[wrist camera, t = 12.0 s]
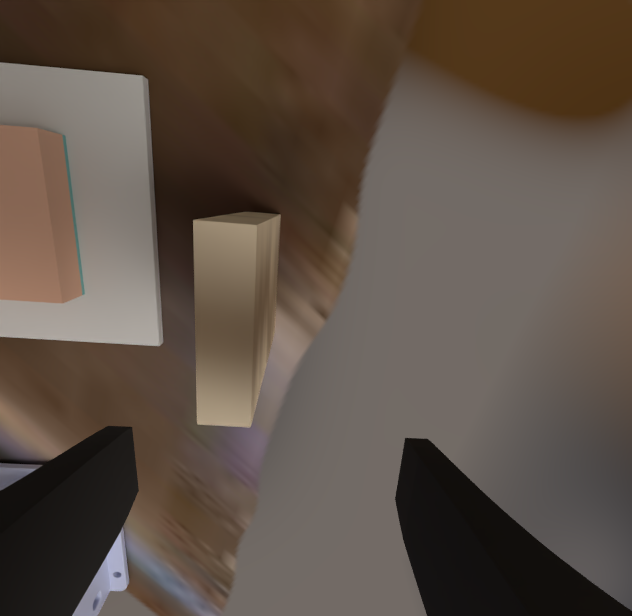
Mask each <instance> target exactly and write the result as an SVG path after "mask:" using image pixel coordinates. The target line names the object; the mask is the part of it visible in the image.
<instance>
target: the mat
mask: <svg viewBox="0 0 632 616" xmlns="http://www.w3.org/2000/svg"><path fill="white" fill-rule="evenodd" d="M0 125H9V126H21V127H33V128H39V129H43V130H47V131H50V132H54V133H58V134H61V135H65V136H66V144H67V152H68V160H69V169H70V177H71V185H72V193H73V201H74V209H75V217H76V225H77V233H78V241H79V249H80V258H81V266H82V274H83V282H84V290H85V295H82V296H80V297H77V298H75V299H72V300H70V301H68V302H65V303H63V304H62V303H46V302H31V301H15V300H0V337H15V338H32V339H49V340H66V341H82V342H99V343H116V344H133V345H150V346H160V345H161V344H162V343H163V329H162V312H161V295H160V277H159V260H158V243H157V225H156V208H155V191H154V174H153V156H152V139H151V122H150V104H149V87H148V79H146V78H145V77H144V76H141V75H130V74H120V73H109V72H98V71H87V70H76V69H65V68H55V67H44V66H33V65H22V64H11V63H1V62H0Z"/></svg>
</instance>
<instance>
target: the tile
mask: <svg viewBox="0 0 632 616" xmlns="http://www.w3.org/2000/svg"><path fill="white" fill-rule="evenodd" d="M82 295H85V290H84V282H83V274H82V266H81V258H80V249H79V241H78V233H77V225H76V217H75V209H74V201H73V193H72V185H71V177H70V169H69V160H68V152H67V144H66V136H65V135H61V134H58V133H54V132H50V131H47V130H43V129H39V128H33V127H21V126H9V125H0V300H15V301H31V302H46V303H62V304H63V303H65V302H68V301H70V300H72V299H75V298H77V297H80V296H82Z"/></svg>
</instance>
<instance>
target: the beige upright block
mask: <svg viewBox="0 0 632 616" xmlns="http://www.w3.org/2000/svg"><path fill="white" fill-rule="evenodd" d="M280 219H281V214H271V213H259V212H240V213H234V214H227V215H221V216H215V217H208V218H202V219H196V220H193V244H194V292H195V341H196V389H197V424H199V425H217V426H235V427H251V424H252V420H253V416H254V412H255V408H256V404H257V400H258V396H259V392H260V388H261V384H262V380H263V376H264V373H265V369H266V365H267V361H268V357H269V353H270V349H271V345H272V341H273V337H274V333H275V317H276V297H277V278H278V258H279V238H280Z"/></svg>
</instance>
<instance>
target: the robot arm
mask: <svg viewBox="0 0 632 616" xmlns="http://www.w3.org/2000/svg"><path fill="white" fill-rule="evenodd" d="M138 491H139V490H138V480H137V470H136V461H135V451H134V442H133V432H132V427H120V426H107V427H105V428H104V429H102V430H100V431H98V432H96V433H95V434H93V435H91V436H90V437H88V438H86V439H85V440H83V441H81V442H80V443H78V444H77V445H75V446H73V447H72V448H70V449H68V450H67V451H65V452H64V453H62V454H60V455H59V456H57V457H56V458H54V459H52V460H51V461H49V462H47V463H46V464H44V465H31V464H8V463H0V616H97V615H98V613H99V611H100V609H101V608H102V605H103V604H104V602H105V600H106V598H107V596H108V594H109V592H110V591H123V590H125V589H126V588H127V585H128V583H129V575H128V566H127V557H126V549H125V540H124V531H123V525H124V523H125V521H126V519H127V516H128V514H129V512H130V510H131V507H132V505H133V502H134V500H135V498H136V495H137V493H138ZM395 500H396V506H397V511H398V516H399V521H400V526H401V531H402V535H403V540H404V543H405V547H406V550H407V553H408V557H409V560H410V563H411V566H412V569H413V573H414V576H415V579H416V582H417V585H418V588H419V592H420V595H421V598H422V601H423V604H424V607H425V610H426V614H427V616H632V611H631V610H630V609H628V608H626V607H625V606H624V605H622V604H621V603H619V602H618V601H617V600H615V599H614V598H612V597H611V596H610V595H608V594H607V593H605V592H604V591H603V590H601V589H600V588H598V587H597V586H596V585H594V584H593V583H592V582H590V581H589V580H588V579H587V578H585V577H584V576H583V575H581V574H580V573H579V572H577V571H576V570H575V569H573V568H572V567H571V566H570V565H568V564H567V563H566V562H564V561H563V560H562V559H560V558H559V557H558V556H557V555H555V554H554V553H553V552H552V551H550V550H549V549H548V548H547V547H545V546H544V545H543V544H542V543H540V542H539V541H538V540H537V539H536V538H534V537H533V536H532V535H531V534H530V533H529V532H527V531H526V530H525V529H524V528H523V527H522V526H520V525H519V524H518V523H517V522H516V521H515V520H513V519H512V518H511V517H510V516H509V515H508V514H507V513H505V512H504V511H503V510H502V509H501V508H500V507H499V506H498V505H497V504H495V503H494V502H493V501H492V500H491V499H490V498H489V497H488V496H486V495H485V493H483V492H482V491H481V490H480V489H479V488H478V487H477V486H476V485H475V484H474V483H473V482H472V481H470V479H469V478H468V477H467V476H466V475H465V474H464V473H462V472H461V471H460V470H459V469H458V468H457V467H456V466H455V465H454V464H453V463H452V462H451V461H450V460H449V459H448V458H447V457H446V456H445V455H444V454H443V453H442V452H441V451H440V450H439V449H438V448H437V447H436V446H435V445H434V444H433V443H432V442H431V441H429V440H428V439H416V438H405V443H404V449H403V455H402V461H401V468H400V473H399V480H398V485H397V491H396V497H395Z"/></svg>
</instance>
